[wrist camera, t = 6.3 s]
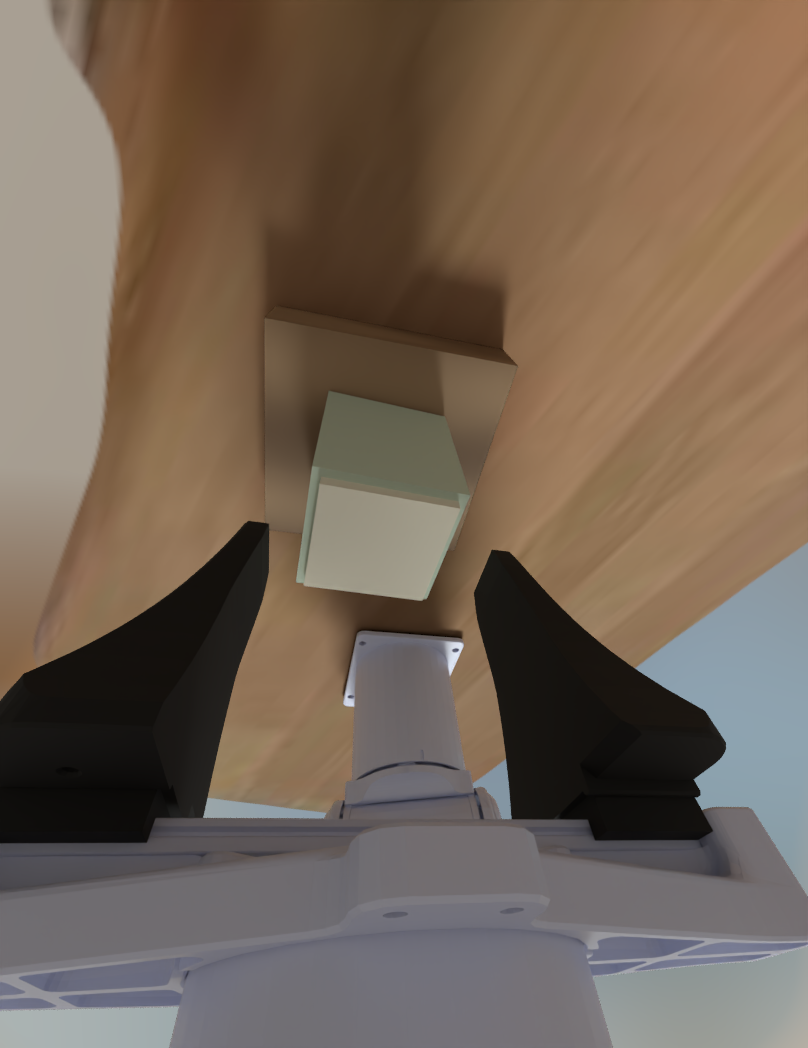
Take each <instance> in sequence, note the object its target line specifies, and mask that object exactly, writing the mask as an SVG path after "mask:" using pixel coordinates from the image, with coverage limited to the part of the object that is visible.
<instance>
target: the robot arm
mask: <svg viewBox="0 0 808 1048" xmlns="http://www.w3.org/2000/svg"><path fill="white" fill-rule="evenodd" d="M268 573H269V523H260V522H252V521H248V522H247V523H245V524H244V525H243V526H242V527H241V529H240V530H239V531H238V532H237V533H236V534H235V535H234V536H233V537H232V538H231V540H230V541H229V542H228V543H227V544H226V545H225V546H224V547H223V548H222V549H221V550H220V551H219V552H218V553H217V554H216V555H215V556H214V557H213V558H211V559H210V560H209V561H208V562H207V563H206V564H205V565H204V566H203V567H202V568H201V569H199V570H198V571H197V572H196V573H195V574H194V575H192V576H191V577H190V578H189V579H188V580H187V581H186V582H184V583H183V584H182V585H181V586H179V587H178V588H177V589H175V590H174V591H173V592H172V593H170V594H169V595H168V596H166V597H165V598H163V599H162V600H161V601H159V602H158V603H156V604H155V605H154V606H152V607H150V608H149V609H147V610H146V611H144V612H143V613H141V614H140V615H138V616H137V617H135V618H134V619H132V620H130V621H129V622H127V623H126V624H124V625H122V626H120V627H119V628H117V629H115V630H113V631H112V632H110V633H108V634H106V635H104V636H102V637H101V638H99V639H97V640H95V641H93V642H91V643H89V644H87V645H85V646H83V647H81V648H79V649H77V650H75V651H73V652H71V653H69V654H67V655H65V656H62V657H60V658H58V659H56V660H54V661H51V662H49V663H47V664H45V665H43V666H40V667H38V668H36V669H34V670H31V671H29V672H27V673H24V674H23V675H22V676H21V678H20V679H19V680H18V681H17V682H16V683H15V684H14V685H13V687H12V688H11V689H10V690H9V691H8V692H7V693H6V694H5V696H4V697H3V698H2V699H1V701H0V1011H11V1010H55V1009H98V1008H99V1009H100V1008H144V1007H145V1008H146V1007H179V1009H178V1014H177V1018H176V1022H175V1026H174V1030H173V1034H172V1038H171V1042H170V1047H169V1048H613V1046H612V1043H611V1039H610V1036H609V1032H608V1029H607V1025H606V1022H605V1018H604V1015H603V1012H602V1008H601V1004H600V1001H599V998H598V994H597V991H596V987H595V984H594V980H593V977H597V976H605V975H615V974H624V973H632V972H642V971H651V970H660V969H669V968H679V967H688V966H700V965H711V964H721V963H722V964H723V963H737V962H749V961H750V962H751V961H757V960H760V959H764V958H767V957H772V956H775V955H778V954H782V953H786V952H790V951H793V950H797V949H800V948H804V947H808V896H807V895H806V893H805V892H804V890H803V889H802V887H801V885H800V884H799V882H798V881H797V879H796V877H795V876H794V875H793V873H792V871H791V869H790V868H789V866H788V865H787V863H786V862H785V860H784V858H783V857H782V856H781V854H780V852H779V851H778V849H777V848H776V846H775V844H774V843H773V841H772V840H771V838H770V836H769V835H768V833H767V832H766V830H765V829H764V827H763V825H762V824H761V822H760V821H759V819H758V818H757V816H756V815H755V813H754V811H753V810H752V809H750V808H748V807H712V808H708V809H704V810H701V808H700V806H699V804H698V803H697V801H696V799H695V797H698V796H700V790H699V788H698V786H697V785H696V783H695V781H694V779H695V778H696V777H697V776H699V775H700V774H701V773H702V772H704V771H705V770H707V769H708V768H709V767H711V766H712V765H713V764H715V763H716V762H717V761H718V760H719V759H720V758H721V757H722V756H723V754H724V752H725V750H726V742H725V741H724V739H723V738H722V736H721V735H720V733H719V732H718V730H717V728H716V727H715V726H714V724H713V722H712V721H711V719H710V718H709V716H708V715H707V713H706V712H705V711H704V710H703V709H701V708H699V707H697V706H695V705H693V704H692V703H690V702H688V701H687V700H685V699H683V698H681V697H679V696H678V695H676V694H674V693H672V692H671V691H669V690H667V689H666V688H664V687H662V686H661V685H659V684H658V683H656V682H655V681H653V680H651V679H650V678H648V677H647V676H645V675H643V674H642V673H641V672H639V671H638V670H636V669H635V668H633V667H632V666H630V665H629V664H628V663H626V662H625V661H623V660H622V659H621V658H619V657H618V656H617V655H615V654H614V653H613V652H611V651H610V650H609V649H607V648H606V647H605V646H604V645H602V644H601V643H600V642H599V641H597V640H596V639H595V638H594V637H593V636H591V635H590V634H589V633H588V632H587V631H586V630H584V629H583V628H582V627H581V626H580V625H579V624H578V623H577V622H575V621H574V620H573V619H572V618H571V617H570V616H569V615H568V614H567V613H566V612H565V611H564V610H563V609H562V608H561V607H560V606H559V605H558V604H557V603H556V602H555V601H554V600H553V599H552V598H551V597H550V596H549V595H548V594H547V592H546V591H545V590H544V589H543V588H542V587H541V586H540V585H539V584H538V583H537V582H536V580H535V579H534V578H533V577H532V576H531V575H530V574H529V573H528V571H527V570H526V569H525V568H524V567H523V566H522V565H521V564H520V563H519V561H518V560H517V559H516V558H515V557H514V556H513V555H512V554H511V553H510V552H507V551H498V550H492V551H491V554H490V556H489V558H488V561H487V563H486V565H485V568H484V570H483V573H482V575H481V577H480V580H479V582H478V584H477V587H476V589H475V592H474V597H475V606H476V613H477V620H478V624H479V628H480V632H481V636H482V639H483V643H484V647H485V650H486V654H487V658H488V661H489V665H490V669H491V672H492V676H493V679H494V684H495V688H496V692H497V698H498V704H499V710H500V717H501V723H502V730H503V737H504V745H505V752H506V761H507V770H508V780H509V790H510V803H511V816H512V819H502V818H501V815H500V812H499V808H498V806H497V803H496V801H495V799H494V798H493V797H492V796H491V795H490V794H488V793H487V791H486V790H485V788H483V787H479V788H474V789H473V783H472V777H471V772H470V771H469V770H465V764H464V758H463V752H462V746H461V740H460V734H459V728H458V722H457V716H456V710H455V704H454V698H453V692H452V686H451V680H450V675H451V673H452V671H453V669H454V666H455V664H456V662H457V660H458V658H459V655H460V653H461V651H462V649H463V646H464V643H463V640H462V639H460V638H452V637H439V636H426V635H414V634H401V633H388V632H375V631H360V632H358V633H357V636H356V641H355V645H354V650H353V655H352V660H351V665H350V670H349V675H348V680H347V684H346V689H345V694H344V699H343V704H344V705H345V706H352V707H354V729H353V757H352V781H347V782H346V785H345V800H337V801H335V802H334V803H333V805H332V807H331V809H330V810H329V811H328V813H327V814H326V816H325V818H324V819H299V818H294V819H293V818H203V815H204V811H205V806H206V802H207V797H208V792H209V788H210V783H211V778H212V774H213V769H214V765H215V761H216V756H217V752H218V747H219V743H220V739H221V734H222V730H223V726H224V722H225V718H226V713H227V709H228V705H229V701H230V697H231V693H232V689H233V685H234V681H235V677H236V674H237V671H238V668H239V665H240V662H241V659H242V656H243V653H244V651H245V648H246V645H247V642H248V640H249V637H250V634H251V631H252V628H253V626H254V623H255V620H256V617H257V615H258V612H259V609H260V606H261V603H262V600H263V596H264V591H265V587H266V582H267V578H268Z"/></svg>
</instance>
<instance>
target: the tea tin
mask: <svg viewBox="0 0 808 1048" xmlns="http://www.w3.org/2000/svg"><path fill="white" fill-rule="evenodd" d="M470 496H471V495H470V492H469V489H468V486H467V483H466V480H465V477H464V474H463V471H462V468H461V464H460V461H459V458H458V455H457V452H456V449H455V446H454V443H453V440H452V437H451V434H450V431H449V427H448V424H447V421H446V418H445V417H444V416H440V415H435V414H431V413H426V412H422V411H418V410H413V409H409V408H404V407H400V406H395V405H391V404H386V403H382V402H377V401H373V400H368V399H364V398H359V397H355V396H350V395H346V394H341V393H337V392H332V391H329V392H328V397H327V401H326V406H325V410H324V415H323V419H322V424H321V428H320V433H319V437H318V442H317V447H316V451H315V456H314V460H313V465H312V471H311V478H310V485H309V492H308V500H307V507H306V514H305V521H304V528H303V535H302V543H301V550H300V557H299V564H298V571H297V578H296V582H298V583H304V586H309V587H317V588H325V589H333V590H341V591H348V592H356V593H364V594H372V595H380V596H387V597H395V598H403V599H411V600H419V601H422V600H423V599H427V597H428V595H429V592H430V590H431V588H432V585H433V583H434V580H435V578H436V576H437V573H438V571H439V569H440V566H441V564H442V562H443V559H444V557H445V555H446V552H447V550H448V547H449V545H450V543H451V540H452V538H453V536H454V533H455V531H456V529H457V526H458V524H459V522H460V519H461V517H462V514H463V512H464V510H465V507H466V505H467V503H468V500H469V498H470Z"/></svg>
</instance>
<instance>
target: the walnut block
mask: <svg viewBox="0 0 808 1048" xmlns="http://www.w3.org/2000/svg"><path fill="white" fill-rule="evenodd" d="M264 355H265V523H269V530H272V531H281V532H290V533H299V534H303V528H304V521H305V514H306V507H307V500H308V492H309V485H310V478H311V471H312V465H313V460H314V456H315V451H316V447H317V442H318V437H319V433H320V428H321V424H322V419H323V415H324V410H325V406H326V401H327V397H328V392H329V391H332V392H337V393H341V394H346V395H350V396H355V397H359V398H364V399H368V400H373V401H377V402H382V403H386V404H391V405H395V406H400V407H404V408H409V409H413V410H418V411H422V412H426V413H431V414H435V415H440V416H444V417H445V418H446V421H447V424H448V427H449V431H450V434H451V437H452V440H453V443H454V446H455V449H456V452H457V455H458V458H459V461H460V464H461V468H462V471H463V474H464V477H465V480H466V483H467V486H468V489H469V492H470V495H471V496H470V498H469V500H468V503H467V505H466V507H465V510H464V512H463V514H462V517H461V519H460V522H459V524H458V526H457V529H456V531H455V533H454V536H453V538H452V540H451V543H450V545H449V547H448V550H452V551H454V550H455V547H456V544H457V541H458V538H459V535H460V532H461V529H462V527H463V524H464V521H465V518H466V515H467V512H468V509H469V506H470V503H471V501H472V498H473V495H474V492H475V489H476V486H477V483H478V480H479V477H480V474H481V472H482V469H483V466H484V463H485V460H486V457H487V454H488V451H489V448H490V446H491V443H492V440H493V437H494V434H495V431H496V428H497V425H498V422H499V420H500V417H501V414H502V411H503V408H504V405H505V402H506V399H507V396H508V394H509V391H510V388H511V385H512V382H513V379H514V376H515V373H516V370H517V367H518V366H517V365H516V363H515V362H514V361H513V360H512V359H511V358H510V357H509V356H508V355H507V354H506V353H505V351H504V350H502V349H497V348H492V347H487V346H482V345H477V344H472V343H467V342H462V341H456V340H451V339H446V338H441V337H436V336H431V335H426V334H421V333H415V332H410V331H405V330H400V329H395V328H390V327H385V326H380V325H375V324H369V323H364V322H359V321H354V320H349V319H344V318H339V317H334V316H328V315H323V314H318V313H313V312H308V311H303V310H298V309H293V308H288V307H282V306H276V307H275V308H274V309H273V310H272V311H271V312H270V313H269V314H268V315H267V316H266V317H265V318H264Z"/></svg>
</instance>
